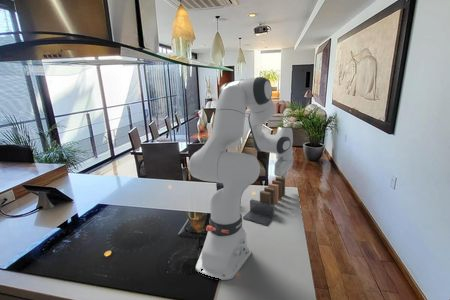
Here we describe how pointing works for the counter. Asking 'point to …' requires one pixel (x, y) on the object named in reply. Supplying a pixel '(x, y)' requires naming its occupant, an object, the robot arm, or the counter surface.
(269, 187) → the tile
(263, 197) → the tile
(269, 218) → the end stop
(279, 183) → the tile
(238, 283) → the counter surface
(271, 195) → the tile
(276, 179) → the end tile
